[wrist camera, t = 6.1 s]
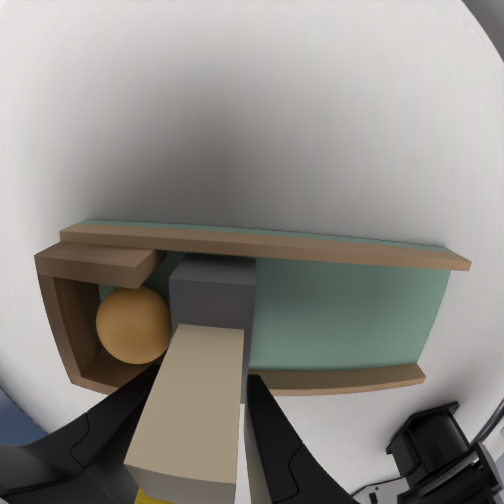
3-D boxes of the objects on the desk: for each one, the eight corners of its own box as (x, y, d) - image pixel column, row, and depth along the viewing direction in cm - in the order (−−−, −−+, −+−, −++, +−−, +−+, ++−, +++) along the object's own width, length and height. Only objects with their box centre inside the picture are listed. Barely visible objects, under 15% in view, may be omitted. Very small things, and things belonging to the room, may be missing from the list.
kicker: (256, 258, 12) (259, 445, 3) (246, 366, 13) (241, 522, 5) (186, 253, 12) (83, 411, 3) (190, 360, 13) (150, 509, 5)
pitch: (445, 247, 13) (471, 262, 10) (407, 359, 15) (422, 382, 13) (86, 219, 12) (59, 231, 10) (105, 344, 15) (89, 367, 12)
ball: (101, 271, 12) (172, 272, 13) (112, 333, 13) (176, 334, 14) (78, 308, 8) (169, 310, 9) (98, 378, 9) (176, 381, 10)
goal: (166, 239, 12) (135, 267, 8) (173, 361, 14) (157, 407, 10) (77, 233, 12) (33, 255, 8) (97, 346, 14) (71, 383, 10)
